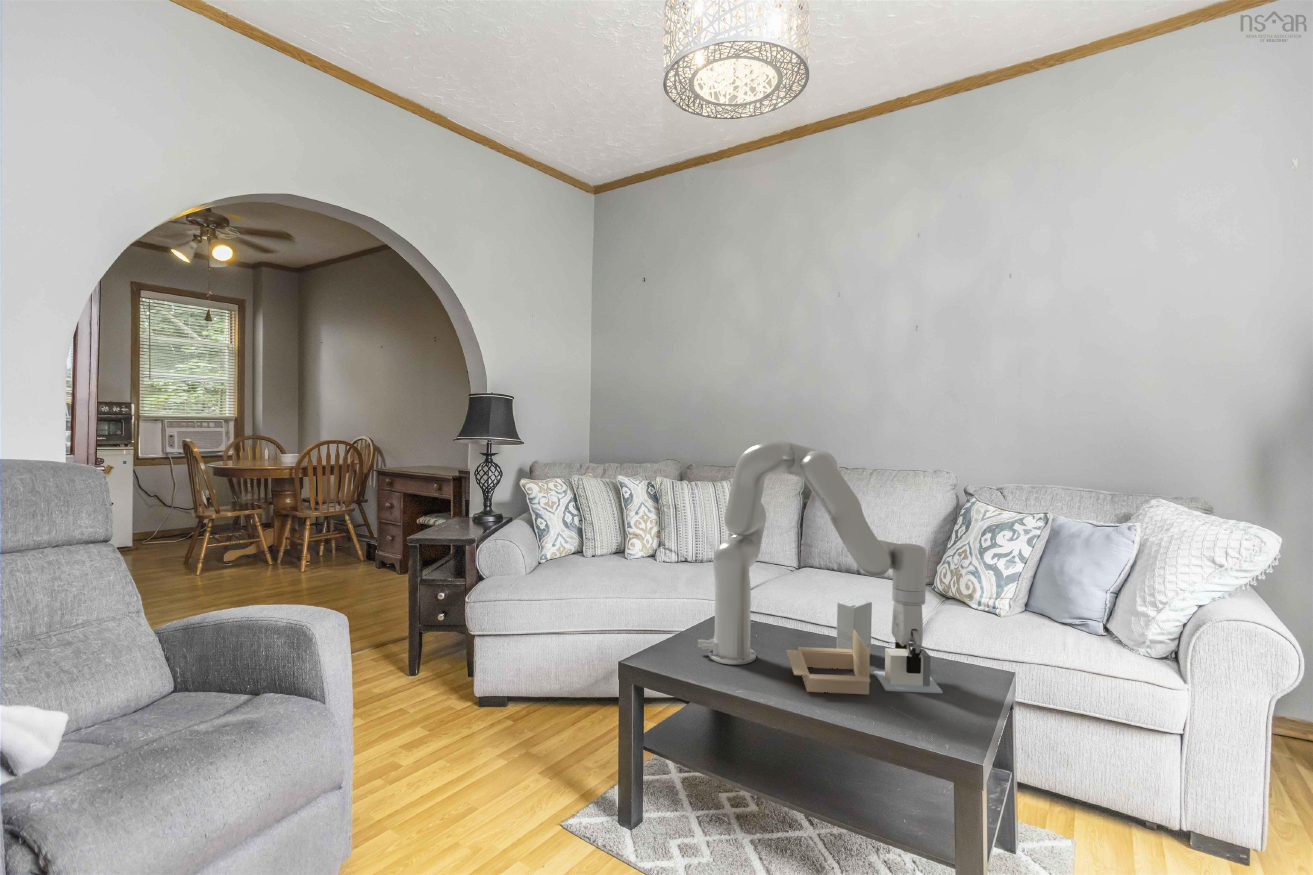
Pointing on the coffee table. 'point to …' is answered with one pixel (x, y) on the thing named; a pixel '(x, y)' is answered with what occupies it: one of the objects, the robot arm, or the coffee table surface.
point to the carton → (833, 659)
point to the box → (897, 668)
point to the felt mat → (907, 688)
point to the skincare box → (853, 622)
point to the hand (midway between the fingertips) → (907, 665)
